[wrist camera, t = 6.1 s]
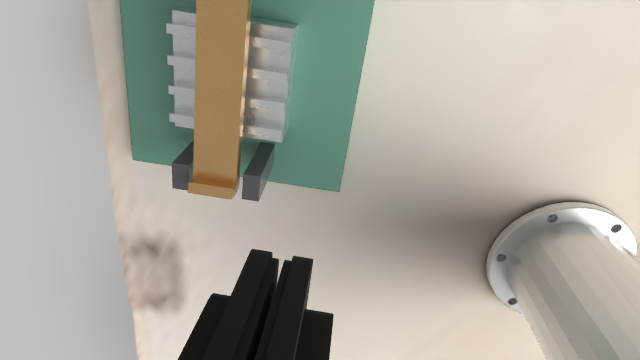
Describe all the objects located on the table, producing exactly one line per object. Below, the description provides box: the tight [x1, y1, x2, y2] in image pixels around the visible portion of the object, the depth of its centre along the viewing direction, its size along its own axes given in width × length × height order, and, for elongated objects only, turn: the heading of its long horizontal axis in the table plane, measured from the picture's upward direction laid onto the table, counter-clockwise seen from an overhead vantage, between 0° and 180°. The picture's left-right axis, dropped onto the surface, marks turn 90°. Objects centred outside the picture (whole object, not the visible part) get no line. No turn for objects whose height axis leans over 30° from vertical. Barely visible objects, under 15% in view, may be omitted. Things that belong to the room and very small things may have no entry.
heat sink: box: [166, 7, 299, 143], centre depth 27 cm, size 8×12×6 cm, turn 172°
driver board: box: [120, 0, 375, 201], centre depth 29 cm, size 18×18×7 cm
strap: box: [188, 0, 252, 199], centre depth 26 cm, size 3×14×2 cm, turn 172°
